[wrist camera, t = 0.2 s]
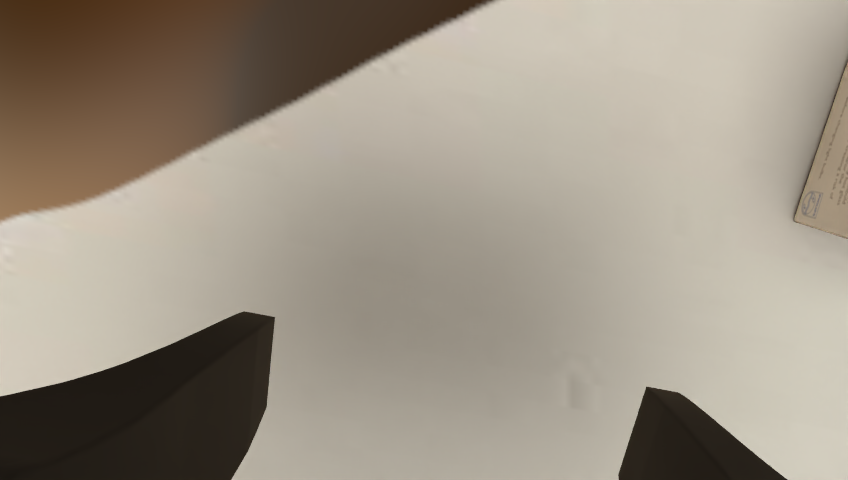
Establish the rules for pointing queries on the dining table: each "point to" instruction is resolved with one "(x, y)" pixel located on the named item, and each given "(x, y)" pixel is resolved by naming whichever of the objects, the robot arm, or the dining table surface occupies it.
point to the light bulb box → (829, 173)
